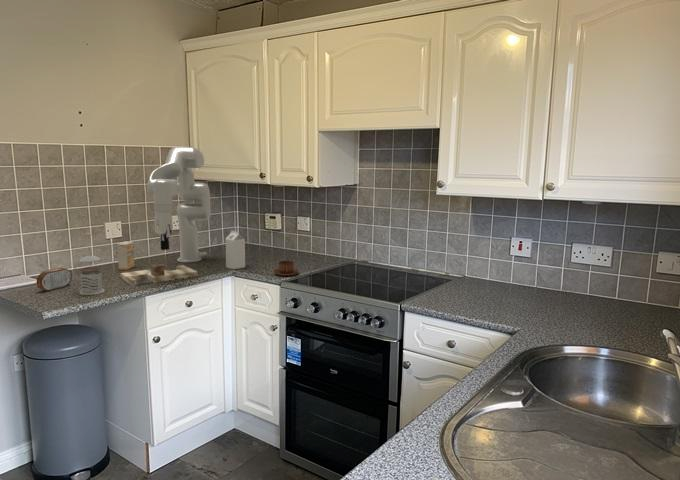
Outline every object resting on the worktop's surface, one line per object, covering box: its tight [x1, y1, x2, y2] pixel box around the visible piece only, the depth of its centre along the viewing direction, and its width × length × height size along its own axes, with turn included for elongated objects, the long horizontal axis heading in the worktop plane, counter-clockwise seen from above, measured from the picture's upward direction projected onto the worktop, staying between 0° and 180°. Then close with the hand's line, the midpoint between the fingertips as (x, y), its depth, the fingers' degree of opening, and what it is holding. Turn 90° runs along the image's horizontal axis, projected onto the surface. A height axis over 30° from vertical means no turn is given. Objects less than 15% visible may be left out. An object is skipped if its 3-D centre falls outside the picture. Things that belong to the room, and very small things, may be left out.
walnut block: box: [150, 263, 165, 276], centre depth 230 cm, size 4×4×4 cm
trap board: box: [119, 264, 198, 287], centre depth 235 cm, size 30×17×2 cm, turn 130°
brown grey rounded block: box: [36, 267, 73, 292], centre depth 213 cm, size 15×3×8 cm, turn 157°
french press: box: [72, 232, 106, 296], centre depth 207 cm, size 10×12×25 cm
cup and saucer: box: [273, 260, 299, 277], centre depth 245 cm, size 12×12×6 cm
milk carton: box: [225, 230, 246, 270], centre depth 257 cm, size 7×7×19 cm
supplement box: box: [117, 241, 135, 271], centre depth 252 cm, size 8×5×13 cm, turn 179°
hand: (165, 249), depth 223 cm, fingers closed
